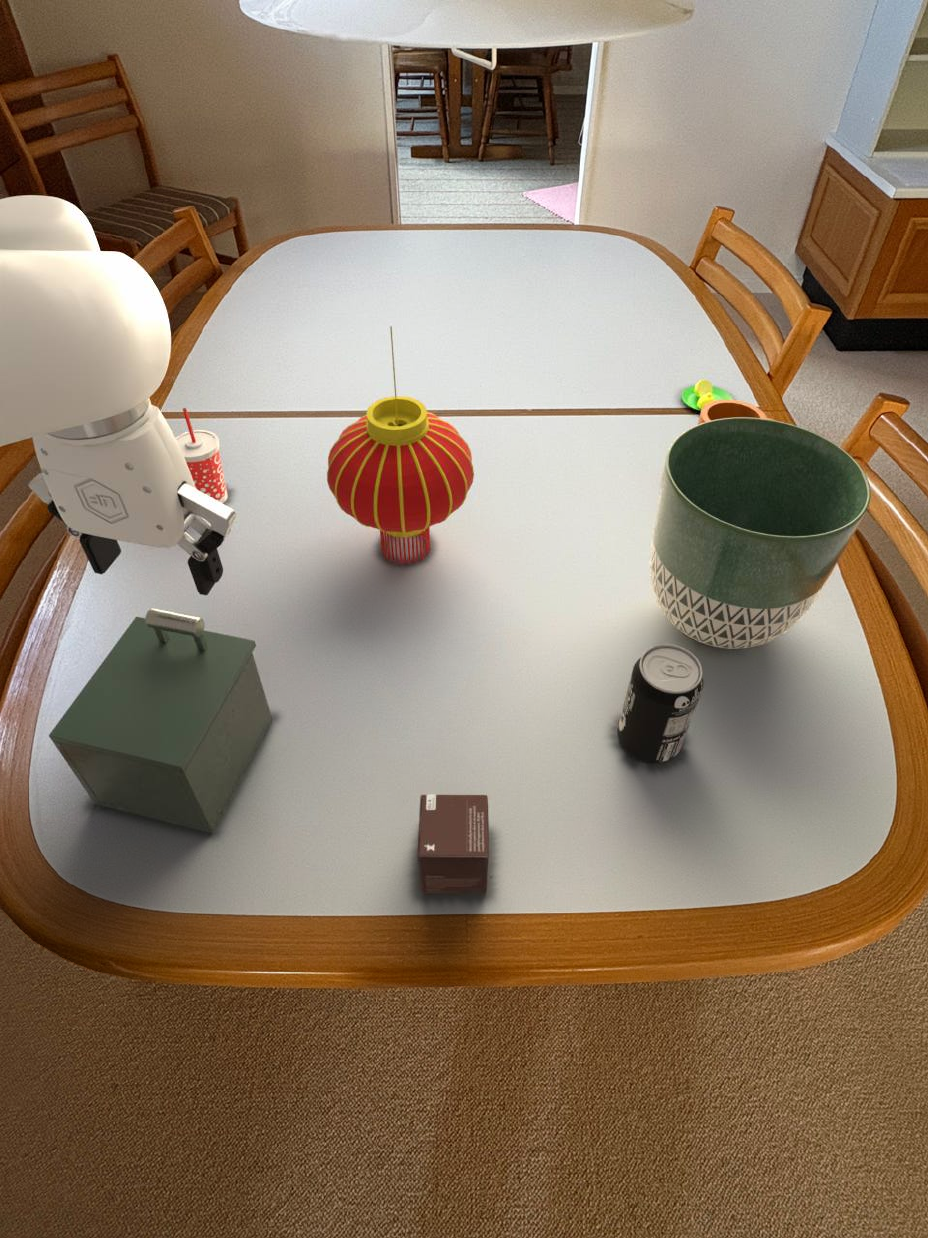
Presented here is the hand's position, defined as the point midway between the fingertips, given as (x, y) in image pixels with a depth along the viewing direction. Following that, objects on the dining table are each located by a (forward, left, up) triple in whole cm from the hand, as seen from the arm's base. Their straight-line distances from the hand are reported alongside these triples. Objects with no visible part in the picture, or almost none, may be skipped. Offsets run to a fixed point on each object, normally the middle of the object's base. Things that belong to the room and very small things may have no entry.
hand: (159, 573), depth 67 cm
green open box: (-5, 0, -21) cm, 22 cm away
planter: (+28, -51, -22) cm, 61 cm away
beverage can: (+9, -45, -22) cm, 50 cm away
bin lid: (-5, 0, -10) cm, 12 cm away
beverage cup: (+34, +17, -22) cm, 44 cm away
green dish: (+76, -48, -22) cm, 92 cm away
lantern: (+31, -12, -22) cm, 39 cm away
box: (-9, -29, -22) cm, 37 cm away
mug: (+58, -52, -22) cm, 80 cm away
